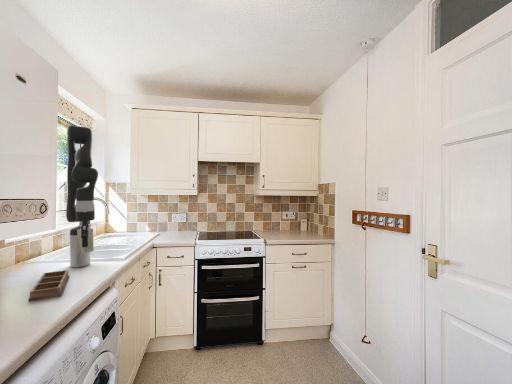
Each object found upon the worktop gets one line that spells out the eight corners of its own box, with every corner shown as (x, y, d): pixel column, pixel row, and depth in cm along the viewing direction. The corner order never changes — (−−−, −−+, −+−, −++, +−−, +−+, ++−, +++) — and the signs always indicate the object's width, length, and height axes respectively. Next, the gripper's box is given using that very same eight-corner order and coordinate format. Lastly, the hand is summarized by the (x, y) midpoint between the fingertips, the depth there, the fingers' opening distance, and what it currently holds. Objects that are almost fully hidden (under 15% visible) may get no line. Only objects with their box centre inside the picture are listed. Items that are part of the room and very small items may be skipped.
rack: (42, 280, 122) (42, 273, 122) (69, 277, 127) (69, 269, 127) (28, 301, 100) (28, 292, 100) (61, 296, 105) (61, 287, 105)
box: (87, 250, 130) (87, 227, 129) (93, 251, 128) (93, 228, 128) (76, 253, 125) (76, 229, 124) (83, 254, 123) (83, 230, 123)
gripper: (77, 209, 130) (77, 243, 131) (74, 211, 118) (74, 249, 118) (95, 208, 134) (95, 241, 134) (93, 211, 121) (94, 247, 122)
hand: (85, 245), depth 126 cm, fingers closed on box, 6 cm apart
